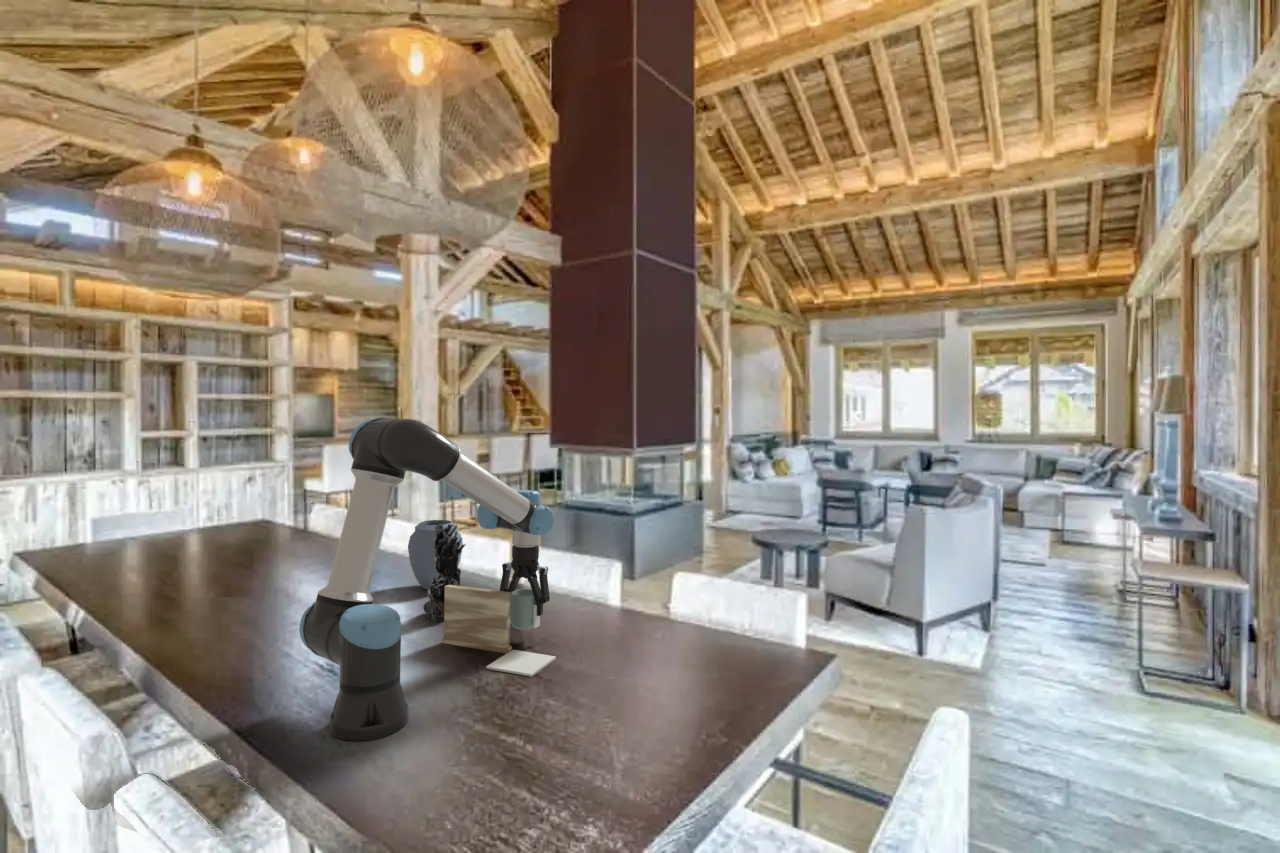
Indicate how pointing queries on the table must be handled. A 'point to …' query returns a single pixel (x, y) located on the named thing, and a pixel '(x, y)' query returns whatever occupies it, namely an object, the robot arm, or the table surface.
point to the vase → (427, 551)
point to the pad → (521, 662)
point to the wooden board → (477, 618)
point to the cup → (522, 608)
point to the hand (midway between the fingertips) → (523, 624)
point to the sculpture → (443, 570)
